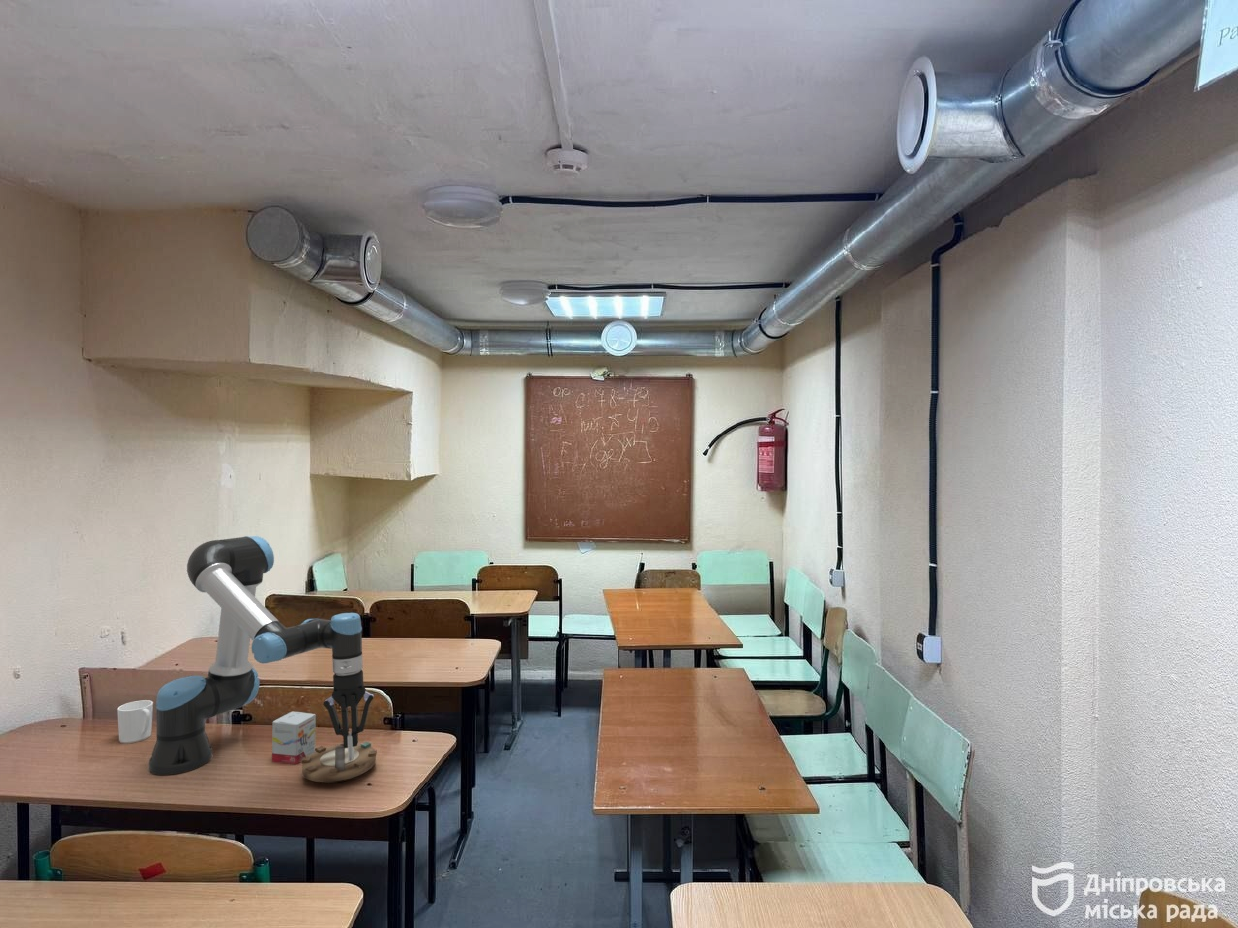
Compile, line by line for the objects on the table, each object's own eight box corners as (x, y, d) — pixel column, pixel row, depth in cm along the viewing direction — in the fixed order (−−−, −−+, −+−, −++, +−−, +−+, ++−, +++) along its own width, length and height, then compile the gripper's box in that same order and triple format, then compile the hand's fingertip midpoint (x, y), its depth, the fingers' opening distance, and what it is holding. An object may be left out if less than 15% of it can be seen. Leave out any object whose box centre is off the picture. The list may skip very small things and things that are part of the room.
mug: (110, 741, 199) (110, 708, 199) (141, 730, 208) (141, 698, 208) (133, 747, 195) (133, 713, 195) (163, 736, 203) (163, 703, 203)
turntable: (286, 770, 177) (286, 741, 177) (347, 744, 194) (347, 717, 194) (330, 789, 167) (330, 758, 167) (391, 759, 184) (391, 732, 184)
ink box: (296, 764, 185) (296, 723, 185) (270, 761, 187) (270, 721, 187) (316, 751, 193) (316, 712, 193) (291, 748, 195) (291, 709, 195)
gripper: (320, 678, 170) (323, 768, 170) (371, 672, 173) (374, 760, 173) (325, 670, 177) (328, 756, 177) (374, 664, 180) (377, 749, 180)
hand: (351, 758), depth 175 cm, fingers closed
